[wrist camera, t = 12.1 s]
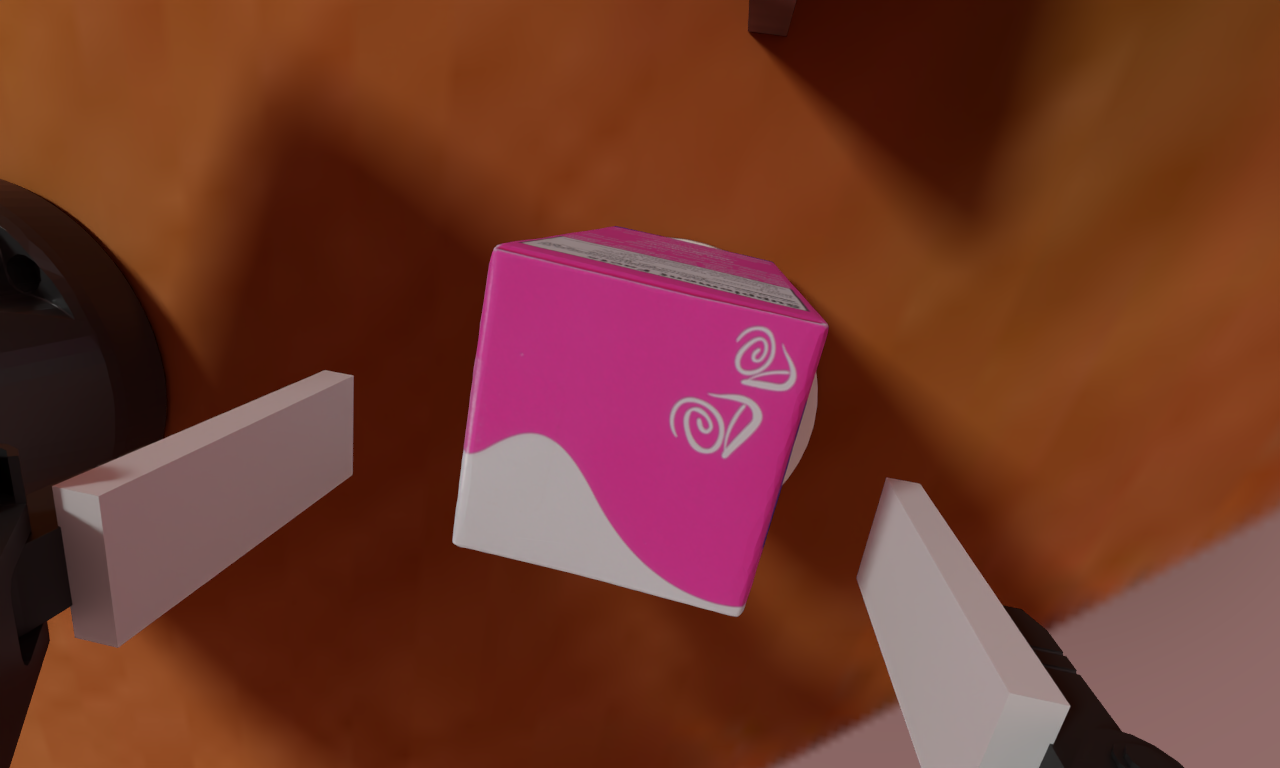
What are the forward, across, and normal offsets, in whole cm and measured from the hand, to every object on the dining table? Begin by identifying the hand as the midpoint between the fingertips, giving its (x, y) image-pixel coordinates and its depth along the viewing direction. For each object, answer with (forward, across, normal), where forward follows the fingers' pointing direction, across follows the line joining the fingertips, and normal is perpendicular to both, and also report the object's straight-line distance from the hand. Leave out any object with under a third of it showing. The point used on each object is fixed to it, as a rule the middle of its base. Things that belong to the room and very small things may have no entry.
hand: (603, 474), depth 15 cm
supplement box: (+8, +1, +2) cm, 8 cm away
